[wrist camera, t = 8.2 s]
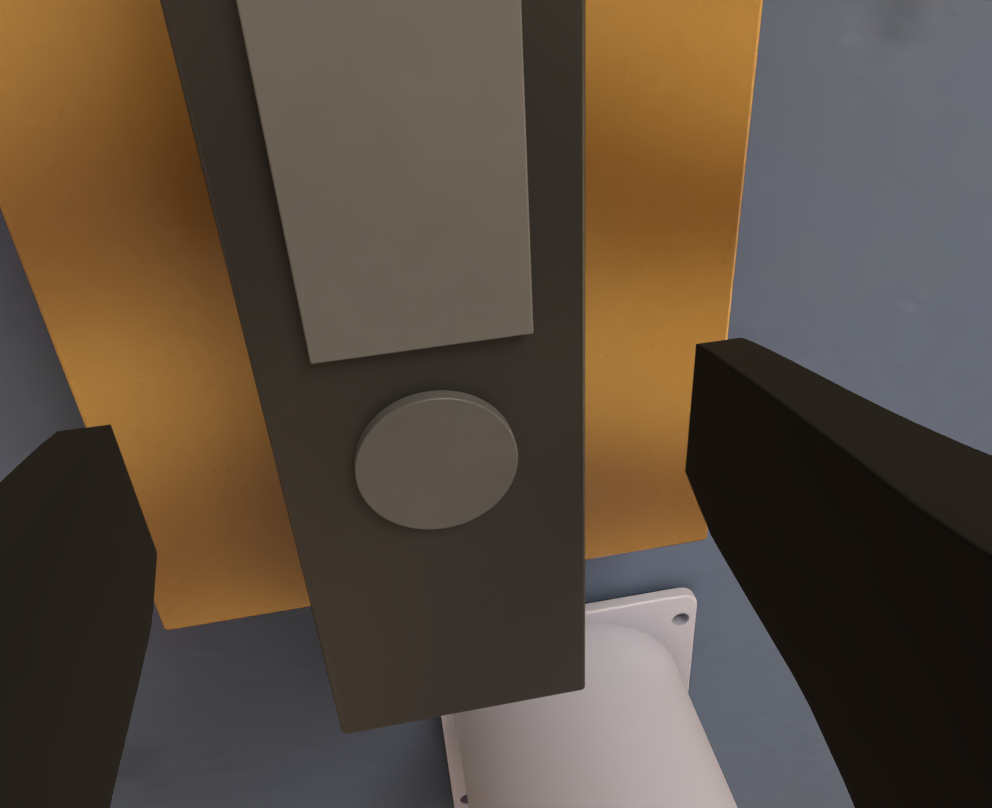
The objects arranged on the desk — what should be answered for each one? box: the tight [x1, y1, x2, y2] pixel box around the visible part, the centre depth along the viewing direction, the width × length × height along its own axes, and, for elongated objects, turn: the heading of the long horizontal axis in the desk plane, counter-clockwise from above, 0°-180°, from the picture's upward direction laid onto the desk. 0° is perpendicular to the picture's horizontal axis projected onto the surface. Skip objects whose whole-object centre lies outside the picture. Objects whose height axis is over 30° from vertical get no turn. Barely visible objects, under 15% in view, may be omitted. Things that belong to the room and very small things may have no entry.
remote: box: [160, 0, 586, 734], centre depth 13 cm, size 15×5×4 cm, turn 4°
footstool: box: [0, 0, 763, 630], centre depth 16 cm, size 18×13×4 cm
